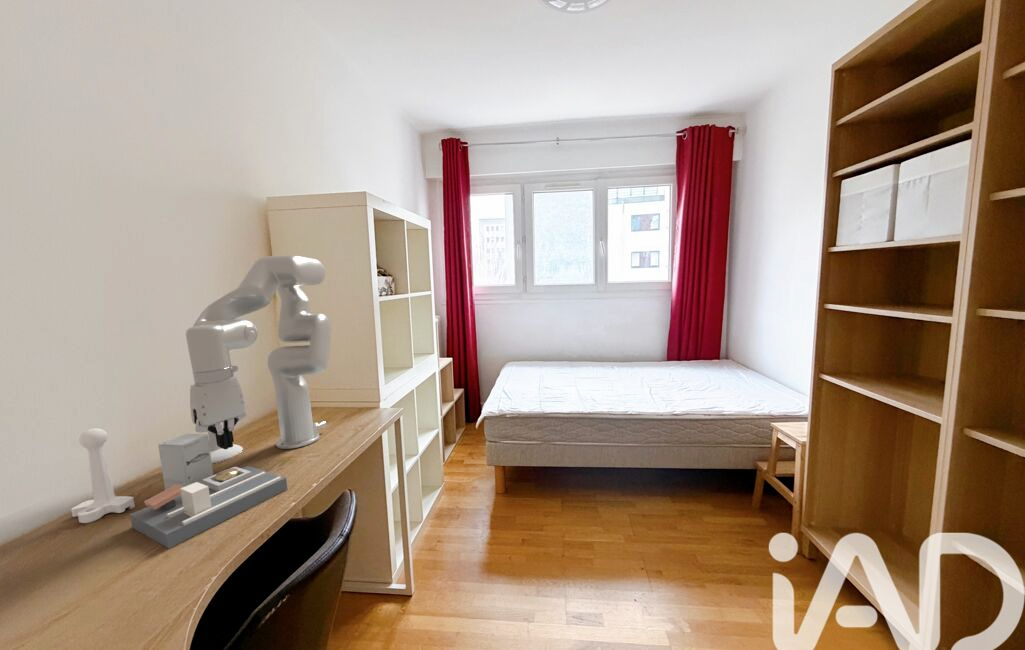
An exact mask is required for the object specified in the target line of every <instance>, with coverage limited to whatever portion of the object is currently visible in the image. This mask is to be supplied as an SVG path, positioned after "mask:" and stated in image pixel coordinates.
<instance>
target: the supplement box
mask: <svg viewBox="0 0 1025 650" xmlns="http://www.w3.org/2000/svg"><path fill="white" fill-rule="evenodd" d="M158 450H159V452H158V453H159V459H160V465H161V472H162V473H161V474H162V478H163V487H164V490H166V489H168V488H170V487H172V486H174V485H175V484H178V485H181V486H183V487H185V486H188V485H190V484H193V483H195V482H198V483H201V484H203V481H202V480H203V479H205V478H208V477H210V476H213V475H214V470H213V464H212V463H211V455H210V448H209V438H208V433H201V434H200V433H185V434H182V435H180V436H178V437H175V438H172V439H170V440H167V441H165V442H162V443H159V444H158Z"/></svg>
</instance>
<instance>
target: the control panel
mask: <svg viewBox="0 0 1025 650" xmlns="http://www.w3.org/2000/svg"><path fill="white" fill-rule="evenodd" d="M232 468H236V469H237V470H238V476H236V477H233V478H231V479H229V480H226V481H224V482H222V483H220V482H217V481H216V474H217V473H215V474H213V476H210V477H208V478H205V479H203V480H202V481H203V484H204V485H206V486H208V487H209V494H210V501H211V507H212V508H210V509H208V510H206V511H204V512H201V513H199V514H197V515H195V516H194V515H192V514H190V513H188V512H186V511H184V509H183V503H182V496H181V495H180V496H179V497H177V498H175V499H173V500H171V501H170V502H168V503H166V504H164V505H163V506H161V507H159V508H157V509H155V510H154V509H152V508H150V507H148V506H146V507H145V508H142V509H140V510H136V511H135V512H132V513H129V516H130V522H131V527H132V529H134V530H136V531H138V532H140V533H141V534H142V535H144V536H147V537H148V538H150V539H152V540H153V541H155V542H157V543H159V545H162V546H164V547H165V548H167V549H171V548H173V547H175V546H178V545H179V544H181V543H183V542H185V541H187V540H189V539H191V538H193V537H195V536H197V535H199V534H201V533H204V532H205V531H207V530H209V529H211V528H213V527H215V526H217V525H219V524H220V523H223V522H224V521H227V520H229V519H230V518H233V517H236V516H237V515H239V514H241V513H243V512H245V511H246V510H249V509H251V508H252V507H255V506H257V505H260V504H261V503H263V502H266V501H267V500H268V499H270V498H271V499H272V498H273V497H276V494H277V495H279V494H281V493H283V492H284V490H285V491H287V490H288V482H287V477H284V476H282V475H279V474H275V473H272V472H269V471H265V470H262V469H258V468H255V467H252V466H249V465H247V466H245V467H242V468H241V467H238V466H233V467H231V468H229V469H232ZM286 489H287V490H286ZM282 491H283V492H282ZM280 492H281V493H280ZM278 493H279V494H278ZM272 496H273V497H272Z"/></svg>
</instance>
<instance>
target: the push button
mask: <svg viewBox="0 0 1025 650" xmlns="http://www.w3.org/2000/svg"><path fill="white" fill-rule="evenodd" d="M231 468H232V469H230V468H227V469H224V470H221V471H219V472H217V473H215V474H216V481H217V482H220V483H222V482H224V481H226V480H229V479H231V478H233V477H236V476H238V470H237V469H236V468H233V467H231Z"/></svg>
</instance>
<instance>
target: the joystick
mask: <svg viewBox="0 0 1025 650" xmlns="http://www.w3.org/2000/svg"><path fill="white" fill-rule="evenodd" d="M107 441H108V432H107V431H105V429H102V428H97V427H96V428H95V427H94V428H90V429H88V430H85V431H83V432H82V433H81V435H80V437H79V444H80V445H81V446H82V447H84V448H86V449H87V451H88V459H89V469H90V479H91V487H92V489H91V490H92V497H93V499H90V500H85V501H83V502H80V503H79V504H77V505H76V506H73V507H72V508H71V509H70V510H71V515H72V516H71V517H74V518H76V517H77V518H78V522H79V523H82V524H89V523H93V522H95V521H97V520H99V519H101V518H102V517H103V516H104V515H106V514H109V513H117V514H120V513H124V512H125V511H126V509H130V510H132V509H133V508H135V507H136V505H135V501H134V500H135V499H134V496H127V495H126V496H125V495H123V496H116V494H115V491H114V487H113V483H112V480H111V475H110V471H109V468H108V467H109V466H108V463H107V458H106V456H105V451H104V448H103V447H104V444H105V443H106V442H107Z"/></svg>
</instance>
